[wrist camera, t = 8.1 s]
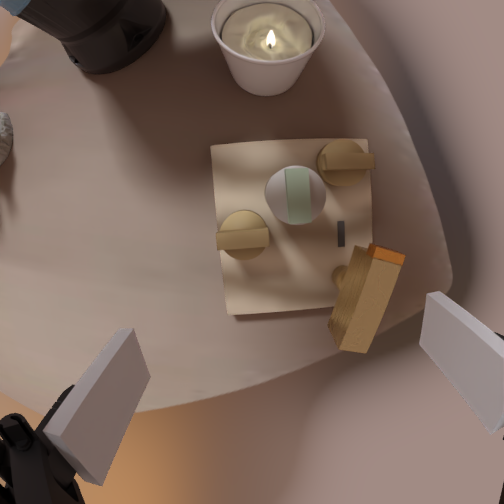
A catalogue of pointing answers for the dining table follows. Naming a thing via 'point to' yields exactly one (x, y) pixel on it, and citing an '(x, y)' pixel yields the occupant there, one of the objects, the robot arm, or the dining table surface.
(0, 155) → the ceramic cottage
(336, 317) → the wing knob
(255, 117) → the dining table surface
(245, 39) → the candle holder
